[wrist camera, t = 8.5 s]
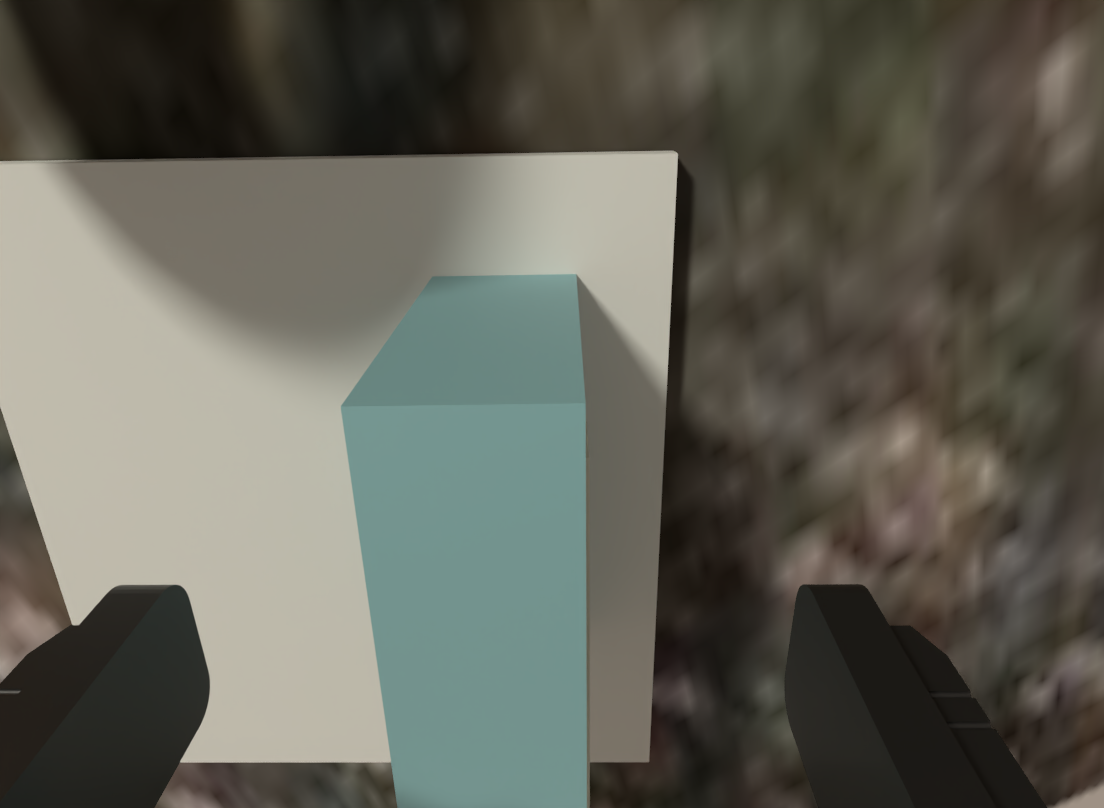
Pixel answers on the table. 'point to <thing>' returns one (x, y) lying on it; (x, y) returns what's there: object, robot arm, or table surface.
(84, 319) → the mat
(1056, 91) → the table surface
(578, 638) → the box
